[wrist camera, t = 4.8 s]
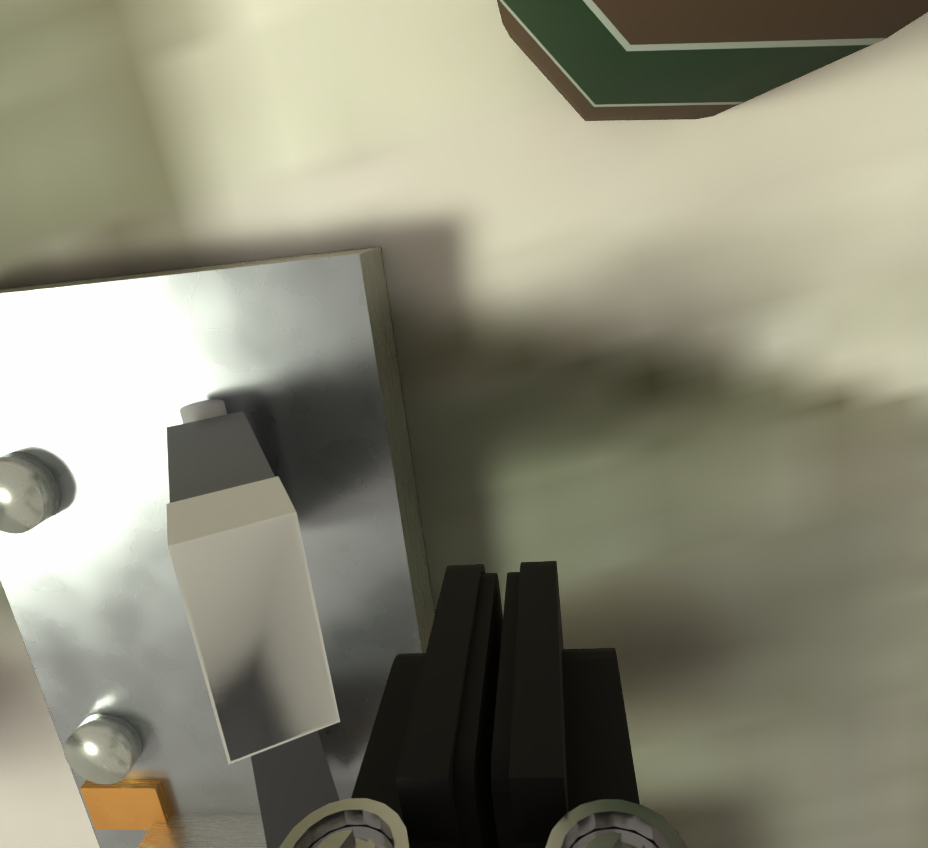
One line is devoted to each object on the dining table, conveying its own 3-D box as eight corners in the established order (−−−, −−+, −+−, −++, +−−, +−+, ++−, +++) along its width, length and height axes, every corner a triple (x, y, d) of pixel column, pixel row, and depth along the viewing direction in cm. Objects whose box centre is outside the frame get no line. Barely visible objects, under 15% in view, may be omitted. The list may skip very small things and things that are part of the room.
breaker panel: (380, 246, 20) (343, 259, 17) (479, 919, 29) (470, 1027, 25) (-33, 293, 22) (-150, 313, 19) (175, 910, 31) (124, 1009, 27)
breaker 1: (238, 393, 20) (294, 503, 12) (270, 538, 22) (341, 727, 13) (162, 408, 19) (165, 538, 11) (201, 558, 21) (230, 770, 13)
